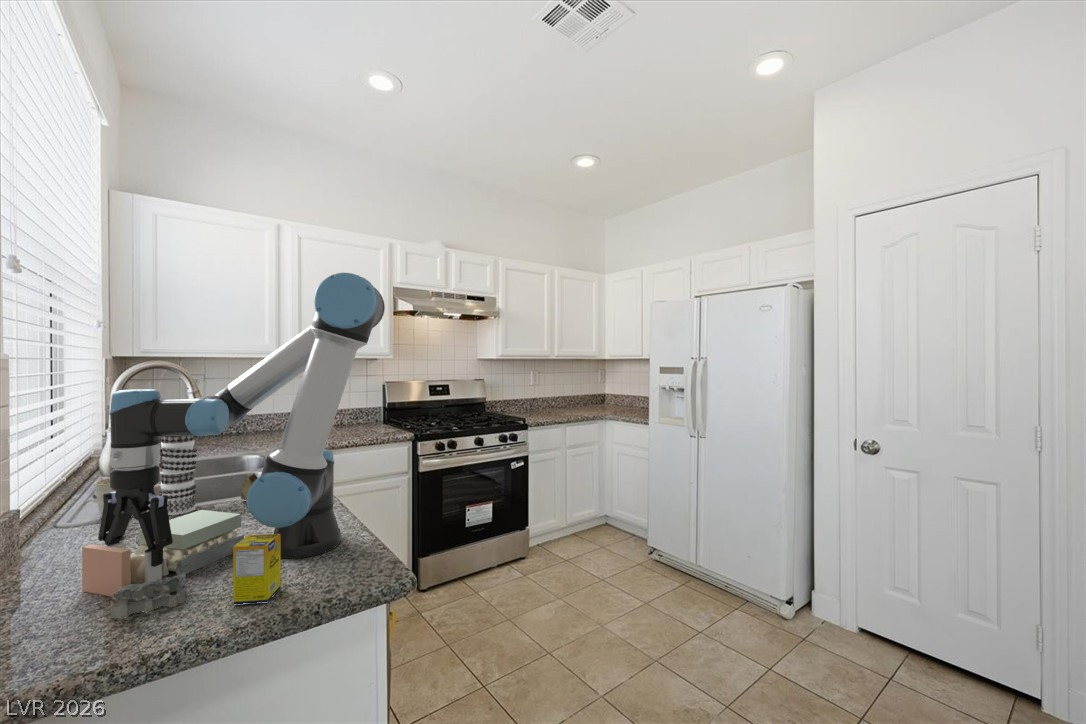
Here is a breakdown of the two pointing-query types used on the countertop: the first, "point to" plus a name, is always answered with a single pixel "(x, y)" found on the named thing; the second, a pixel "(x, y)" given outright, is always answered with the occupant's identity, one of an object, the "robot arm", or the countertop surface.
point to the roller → (138, 569)
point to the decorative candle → (178, 473)
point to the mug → (102, 492)
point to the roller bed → (197, 552)
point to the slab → (199, 527)
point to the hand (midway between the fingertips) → (134, 578)
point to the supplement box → (256, 568)
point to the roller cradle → (165, 569)
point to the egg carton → (147, 596)
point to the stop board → (105, 569)
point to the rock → (247, 486)
